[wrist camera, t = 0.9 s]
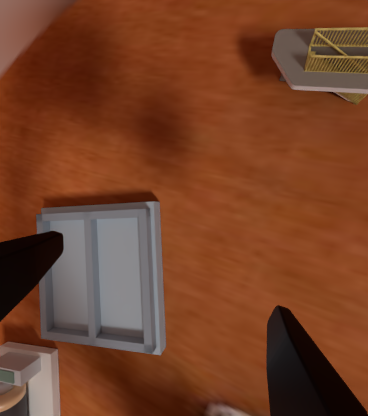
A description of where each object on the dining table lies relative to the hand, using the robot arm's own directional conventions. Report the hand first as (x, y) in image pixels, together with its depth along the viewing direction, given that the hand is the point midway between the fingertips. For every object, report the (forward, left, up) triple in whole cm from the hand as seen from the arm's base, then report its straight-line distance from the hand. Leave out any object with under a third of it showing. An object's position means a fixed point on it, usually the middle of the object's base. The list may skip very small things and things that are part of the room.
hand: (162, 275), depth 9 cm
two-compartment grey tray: (-4, +12, -14) cm, 19 cm away
